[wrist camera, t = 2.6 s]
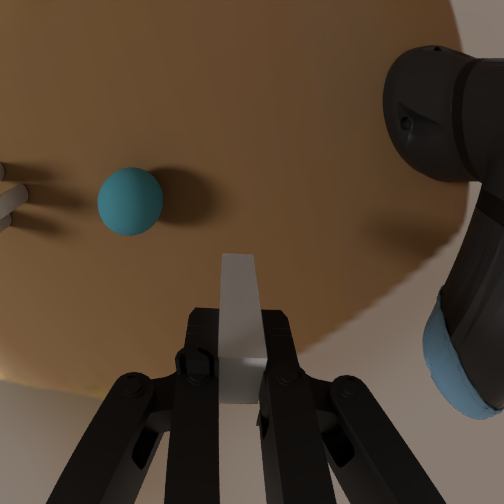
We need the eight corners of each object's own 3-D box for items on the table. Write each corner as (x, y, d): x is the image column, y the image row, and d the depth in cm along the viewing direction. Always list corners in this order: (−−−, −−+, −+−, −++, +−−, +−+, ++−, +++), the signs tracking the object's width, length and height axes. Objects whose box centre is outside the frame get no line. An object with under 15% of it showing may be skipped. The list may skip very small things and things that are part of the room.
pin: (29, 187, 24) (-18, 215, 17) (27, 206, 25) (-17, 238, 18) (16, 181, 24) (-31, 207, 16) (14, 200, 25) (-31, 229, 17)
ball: (178, 174, 26) (163, 192, 20) (158, 228, 28) (142, 257, 23) (122, 153, 24) (95, 166, 19) (106, 208, 27) (81, 232, 21)
